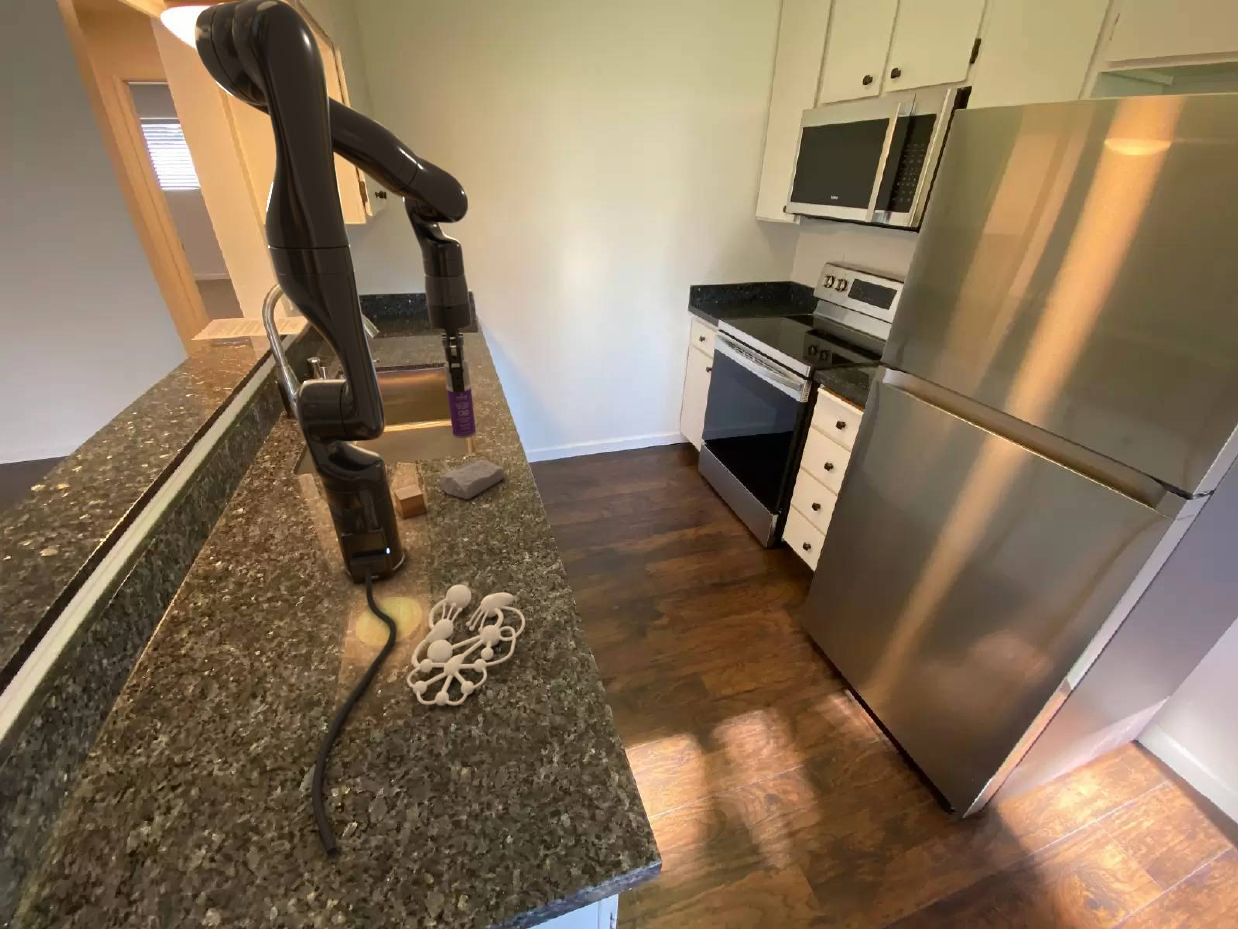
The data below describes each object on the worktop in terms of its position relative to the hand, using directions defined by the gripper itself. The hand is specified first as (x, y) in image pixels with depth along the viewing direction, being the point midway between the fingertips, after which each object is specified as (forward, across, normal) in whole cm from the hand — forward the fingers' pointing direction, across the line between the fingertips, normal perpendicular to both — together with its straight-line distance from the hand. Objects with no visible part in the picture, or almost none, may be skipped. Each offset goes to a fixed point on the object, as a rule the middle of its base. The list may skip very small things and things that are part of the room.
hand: (458, 386), depth 104 cm
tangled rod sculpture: (+23, +47, -2) cm, 52 cm away
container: (+11, 0, 0) cm, 11 cm away
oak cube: (+23, +8, -12) cm, 27 cm away
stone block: (+23, 0, 0) cm, 23 cm away
